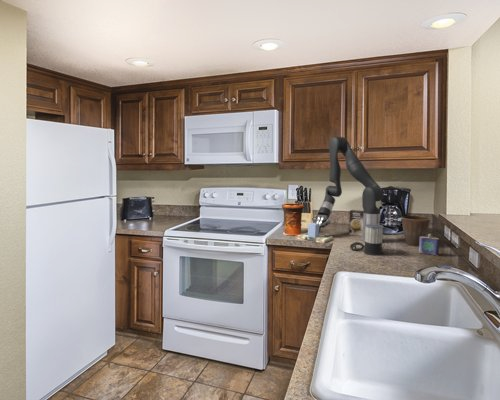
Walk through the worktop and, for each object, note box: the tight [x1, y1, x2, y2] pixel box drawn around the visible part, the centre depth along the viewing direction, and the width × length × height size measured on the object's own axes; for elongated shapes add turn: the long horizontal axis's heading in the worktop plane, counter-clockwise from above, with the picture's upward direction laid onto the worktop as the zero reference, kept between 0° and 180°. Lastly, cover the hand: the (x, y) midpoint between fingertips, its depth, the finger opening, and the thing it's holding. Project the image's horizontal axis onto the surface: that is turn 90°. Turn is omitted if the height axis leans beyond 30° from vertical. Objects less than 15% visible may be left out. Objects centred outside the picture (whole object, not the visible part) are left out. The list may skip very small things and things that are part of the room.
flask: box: [418, 233, 440, 256], centre depth 180 cm, size 9×3×11 cm, turn 55°
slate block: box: [307, 222, 320, 238], centre depth 213 cm, size 5×5×8 cm
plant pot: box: [401, 215, 431, 247], centre depth 200 cm, size 15×15×16 cm
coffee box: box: [348, 209, 364, 237], centre depth 228 cm, size 9×6×16 cm
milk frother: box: [349, 224, 384, 256], centre depth 185 cm, size 14×16×15 cm
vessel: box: [281, 202, 304, 236], centre depth 231 cm, size 14×14×20 cm
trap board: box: [297, 232, 334, 244], centre depth 215 cm, size 18×12×2 cm, turn 52°
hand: (316, 231), depth 216 cm, fingers closed
